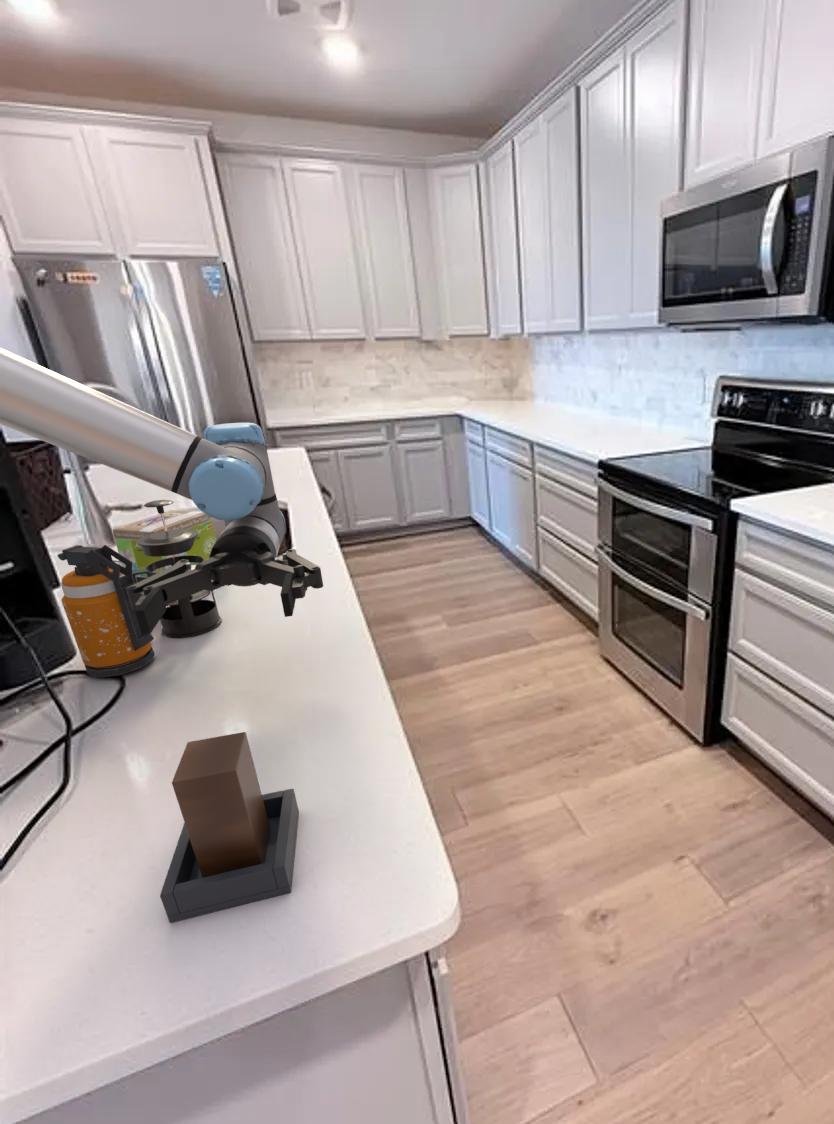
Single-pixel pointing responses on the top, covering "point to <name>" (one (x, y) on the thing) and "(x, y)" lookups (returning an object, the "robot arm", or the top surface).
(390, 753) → the top surface
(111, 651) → the canister
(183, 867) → the socket pad
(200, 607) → the french press
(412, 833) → the top surface
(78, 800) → the top surface
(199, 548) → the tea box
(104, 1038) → the top surface
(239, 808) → the brown rectangular block
